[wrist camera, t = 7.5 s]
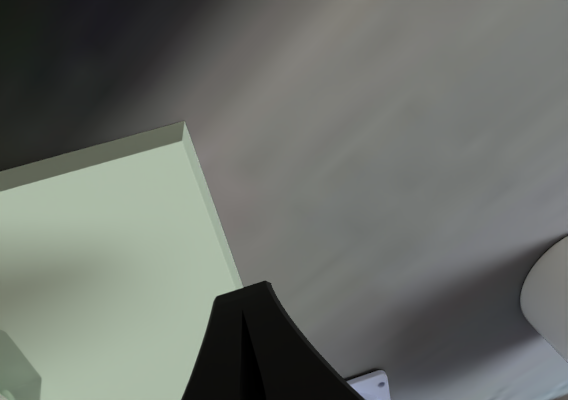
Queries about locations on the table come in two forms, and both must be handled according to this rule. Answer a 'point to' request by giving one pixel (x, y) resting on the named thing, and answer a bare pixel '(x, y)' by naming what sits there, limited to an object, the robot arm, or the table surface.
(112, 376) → the putting board
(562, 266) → the candle holder
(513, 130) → the table surface
